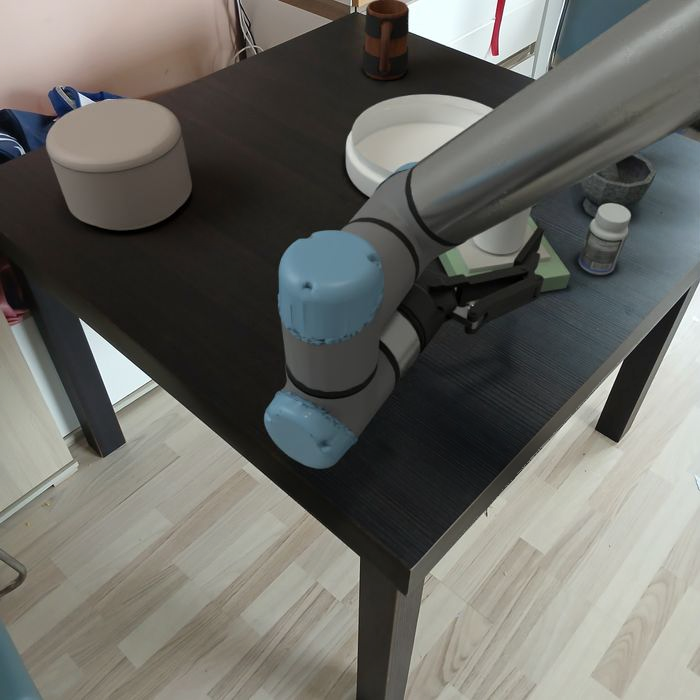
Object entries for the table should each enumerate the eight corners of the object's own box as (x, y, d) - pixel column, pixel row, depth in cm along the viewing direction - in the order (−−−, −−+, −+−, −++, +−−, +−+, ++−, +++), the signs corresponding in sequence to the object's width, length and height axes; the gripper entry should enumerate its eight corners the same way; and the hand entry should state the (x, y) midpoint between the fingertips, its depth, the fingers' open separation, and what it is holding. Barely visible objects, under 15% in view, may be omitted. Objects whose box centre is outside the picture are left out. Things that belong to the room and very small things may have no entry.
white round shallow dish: (393, 234, 93) (395, 201, 89) (319, 142, 109) (318, 111, 105) (553, 190, 100) (561, 158, 96) (461, 110, 117) (465, 80, 113)
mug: (359, 89, 122) (360, 23, 114) (364, 60, 130) (365, -3, 122) (406, 91, 122) (411, 24, 113) (407, 62, 130) (412, -2, 121)
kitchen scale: (566, 288, 85) (572, 269, 83) (462, 305, 83) (466, 286, 81) (519, 219, 95) (524, 201, 93) (426, 233, 93) (428, 214, 91)
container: (129, 154, 107) (109, 84, 98) (218, 186, 101) (206, 114, 92) (42, 212, 96) (12, 138, 87) (137, 252, 90) (114, 176, 81)
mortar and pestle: (653, 212, 96) (683, 137, 88) (612, 236, 92) (639, 160, 84) (591, 178, 102) (614, 104, 94) (550, 199, 99) (570, 124, 90)
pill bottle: (591, 248, 91) (608, 196, 85) (621, 265, 88) (642, 212, 82) (570, 263, 89) (587, 211, 82) (601, 281, 86) (621, 228, 80)
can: (529, 254, 85) (550, 171, 76) (480, 259, 84) (496, 176, 75) (512, 223, 89) (530, 143, 81) (466, 228, 89) (479, 147, 80)
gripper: (285, 311, 70) (385, 211, 83) (503, 410, 61) (579, 282, 74) (279, 255, 65) (388, 157, 77) (518, 356, 56) (598, 227, 68)
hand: (481, 218), depth 75 cm, fingers open, 13 cm apart
